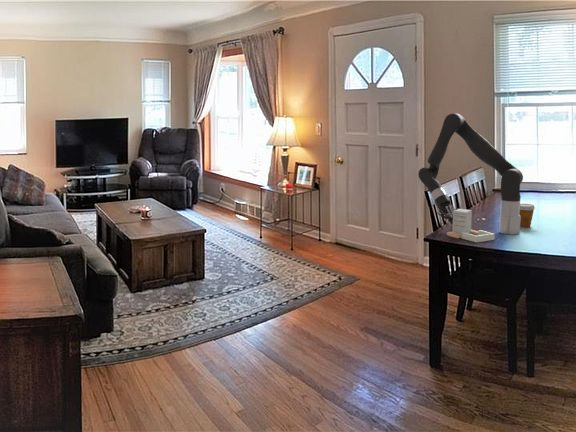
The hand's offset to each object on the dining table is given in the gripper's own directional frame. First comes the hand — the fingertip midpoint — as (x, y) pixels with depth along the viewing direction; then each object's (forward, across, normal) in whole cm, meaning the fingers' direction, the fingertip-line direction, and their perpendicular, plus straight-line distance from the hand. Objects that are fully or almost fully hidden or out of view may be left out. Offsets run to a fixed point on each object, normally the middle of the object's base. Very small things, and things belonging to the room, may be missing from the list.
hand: (455, 224), depth 289 cm
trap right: (+8, +6, -2) cm, 10 cm away
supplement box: (+6, 0, 0) cm, 7 cm away
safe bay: (+15, 0, -9) cm, 17 cm away
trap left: (+8, -6, -2) cm, 10 cm away
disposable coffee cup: (+8, +43, -1) cm, 44 cm away
